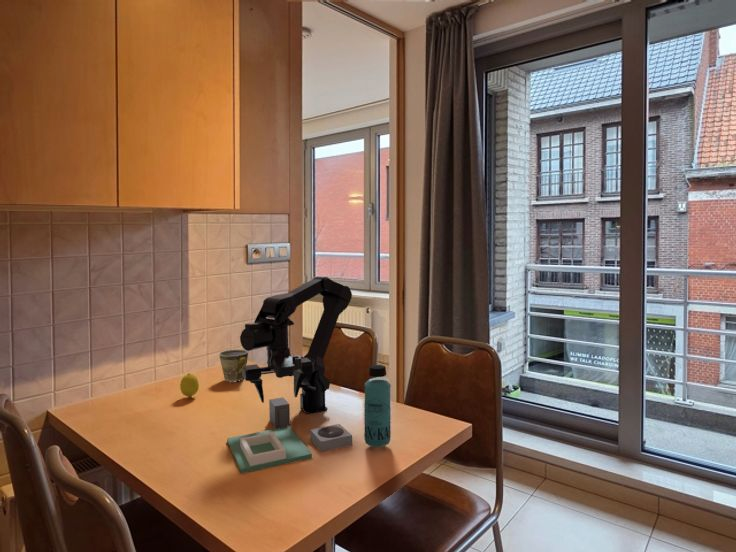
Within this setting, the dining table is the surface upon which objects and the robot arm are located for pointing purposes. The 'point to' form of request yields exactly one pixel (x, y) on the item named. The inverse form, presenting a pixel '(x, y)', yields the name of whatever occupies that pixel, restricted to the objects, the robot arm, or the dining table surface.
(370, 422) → the beverage bottle
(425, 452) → the dining table surface
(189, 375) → the lemon
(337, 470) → the dining table surface
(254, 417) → the dining table surface
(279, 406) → the plug
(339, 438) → the grey square block
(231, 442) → the board
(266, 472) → the dining table surface
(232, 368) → the ceramic cup
